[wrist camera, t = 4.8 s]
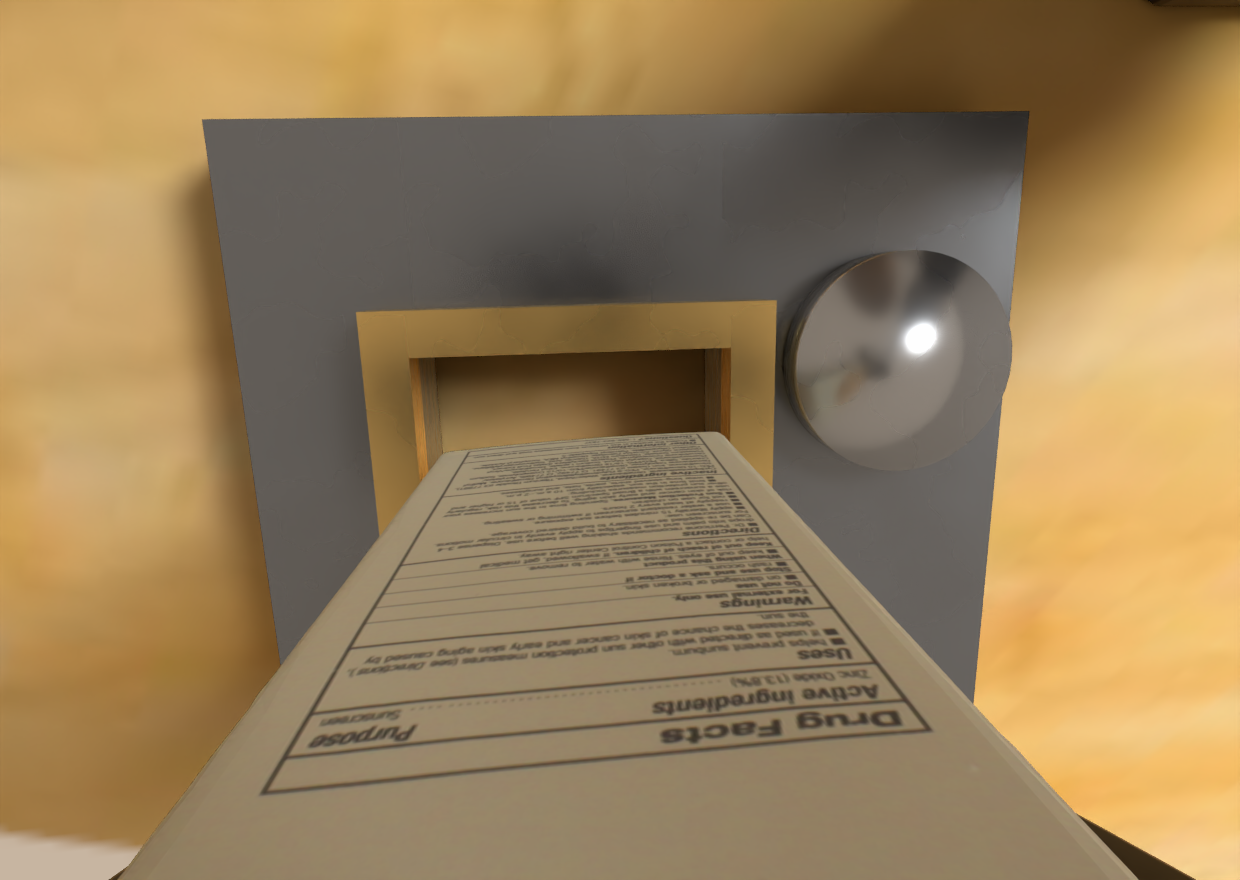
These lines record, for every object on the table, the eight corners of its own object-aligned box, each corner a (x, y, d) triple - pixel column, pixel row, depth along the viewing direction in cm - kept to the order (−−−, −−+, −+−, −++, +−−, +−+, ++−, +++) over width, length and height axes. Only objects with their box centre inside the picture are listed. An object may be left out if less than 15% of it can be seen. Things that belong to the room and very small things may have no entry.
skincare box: (461, 631, 16) (81, 1650, 4) (439, 444, 15) (-145, 1085, 3) (744, 611, 16) (1157, 1545, 4) (740, 425, 15) (1263, 971, 3)
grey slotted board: (978, 129, 18) (1059, 100, 15) (935, 666, 21) (994, 727, 18) (244, 138, 17) (176, 108, 14) (319, 706, 20) (277, 778, 17)
